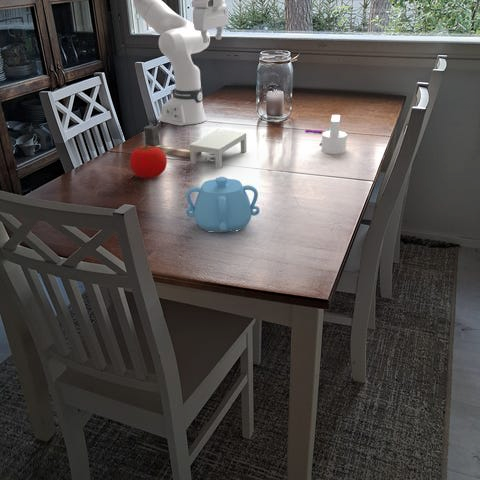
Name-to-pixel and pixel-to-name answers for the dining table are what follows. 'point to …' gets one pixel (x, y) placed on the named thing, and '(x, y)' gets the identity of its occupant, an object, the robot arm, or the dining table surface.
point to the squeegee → (316, 132)
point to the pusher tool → (153, 140)
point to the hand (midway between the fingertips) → (212, 41)
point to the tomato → (148, 161)
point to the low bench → (217, 144)
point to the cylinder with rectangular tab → (334, 138)
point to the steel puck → (211, 159)
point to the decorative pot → (222, 205)
